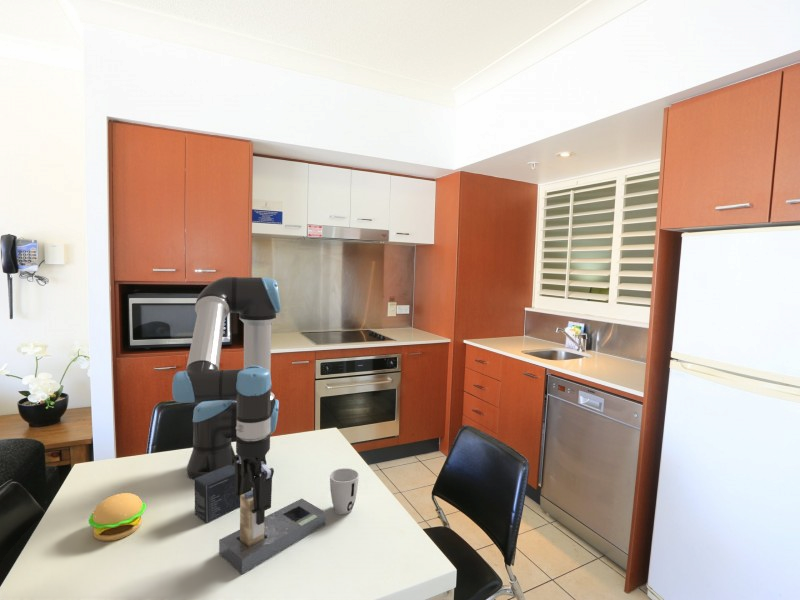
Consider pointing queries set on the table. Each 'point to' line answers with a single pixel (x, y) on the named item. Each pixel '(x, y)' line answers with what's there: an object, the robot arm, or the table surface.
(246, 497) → the plug
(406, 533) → the table surface
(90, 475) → the table surface
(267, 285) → the robot arm
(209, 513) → the box
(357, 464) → the table surface
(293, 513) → the panel
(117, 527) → the toy hamburger
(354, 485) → the cup
